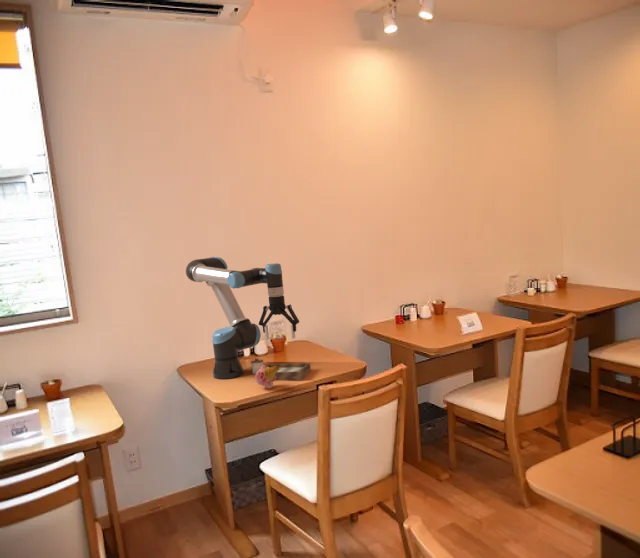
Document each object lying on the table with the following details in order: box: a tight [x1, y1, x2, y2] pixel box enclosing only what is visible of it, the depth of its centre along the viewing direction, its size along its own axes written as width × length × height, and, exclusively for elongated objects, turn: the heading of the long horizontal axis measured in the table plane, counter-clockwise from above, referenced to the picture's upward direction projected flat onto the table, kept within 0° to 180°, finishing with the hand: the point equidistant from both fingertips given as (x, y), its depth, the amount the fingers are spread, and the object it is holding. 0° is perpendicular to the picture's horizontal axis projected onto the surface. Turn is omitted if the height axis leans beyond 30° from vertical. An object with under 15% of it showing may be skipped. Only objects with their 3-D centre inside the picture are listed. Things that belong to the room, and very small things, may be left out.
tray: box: [266, 362, 312, 382], centre depth 275 cm, size 22×16×4 cm
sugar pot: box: [250, 357, 264, 375], centre depth 283 cm, size 6×6×8 cm
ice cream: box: [254, 364, 279, 389], centre depth 255 cm, size 11×10×15 cm
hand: (280, 338), depth 273 cm, fingers open, 13 cm apart
